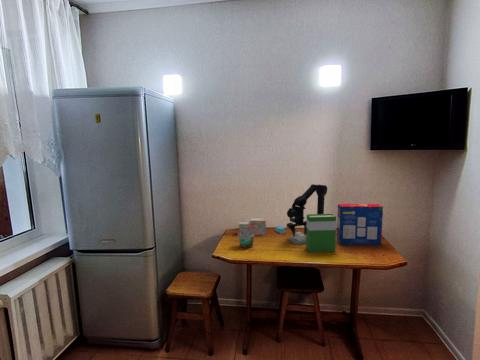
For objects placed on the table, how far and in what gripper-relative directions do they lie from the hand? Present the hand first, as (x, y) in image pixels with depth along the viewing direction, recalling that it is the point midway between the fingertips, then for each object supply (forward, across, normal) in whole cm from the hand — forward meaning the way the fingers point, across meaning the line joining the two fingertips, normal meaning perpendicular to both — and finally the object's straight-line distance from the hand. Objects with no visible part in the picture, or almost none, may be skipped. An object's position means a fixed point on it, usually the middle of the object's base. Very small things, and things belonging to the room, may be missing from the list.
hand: (299, 235), depth 201 cm
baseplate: (+4, 0, 0) cm, 4 cm away
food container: (+4, +42, -3) cm, 42 cm away
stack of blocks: (+4, +27, -28) cm, 39 cm away
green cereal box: (+4, -5, +19) cm, 20 cm away
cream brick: (+2, 0, 0) cm, 2 cm away
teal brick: (+4, +4, -24) cm, 25 cm away
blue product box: (+4, -37, +19) cm, 42 cm away
